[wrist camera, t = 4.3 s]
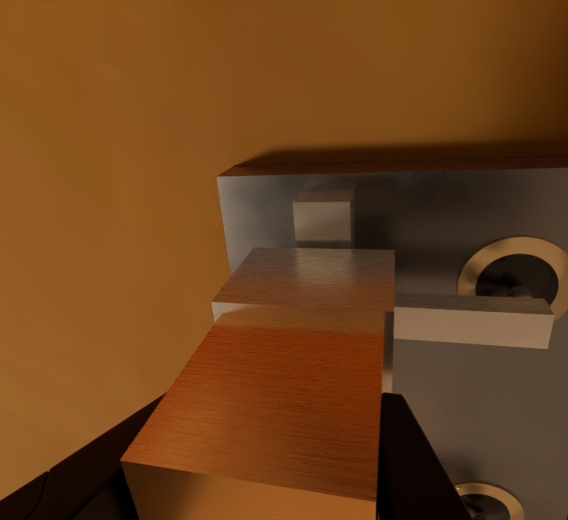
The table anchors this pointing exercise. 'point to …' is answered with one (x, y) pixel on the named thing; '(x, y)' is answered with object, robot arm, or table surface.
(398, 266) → the bolt plate
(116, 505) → the robot arm
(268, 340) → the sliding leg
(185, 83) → the table surface
